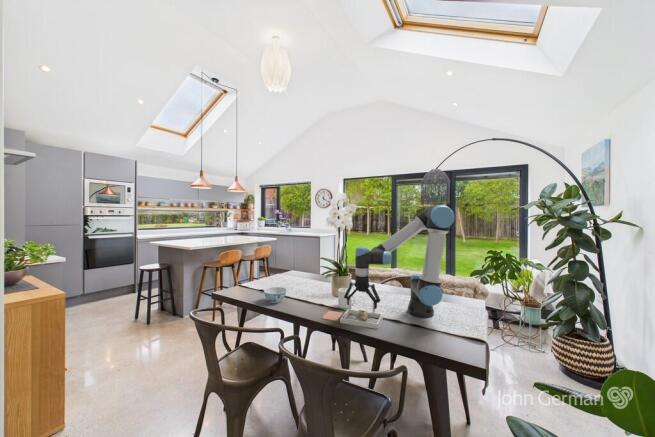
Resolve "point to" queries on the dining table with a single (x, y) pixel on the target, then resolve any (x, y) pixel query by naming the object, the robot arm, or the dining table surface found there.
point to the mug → (343, 301)
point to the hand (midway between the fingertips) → (361, 312)
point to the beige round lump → (361, 315)
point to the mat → (332, 315)
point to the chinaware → (275, 294)
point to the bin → (362, 323)
